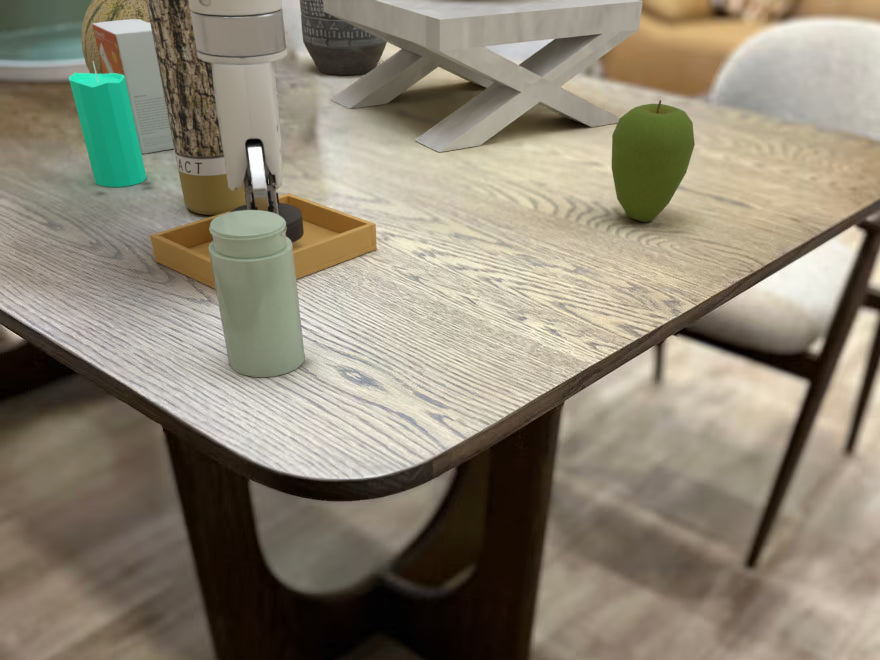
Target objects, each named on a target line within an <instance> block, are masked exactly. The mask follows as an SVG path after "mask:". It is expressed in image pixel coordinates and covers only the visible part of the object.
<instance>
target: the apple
mask: <svg viewBox="0 0 880 660" xmlns="http://www.w3.org/2000/svg"><path fill="white" fill-rule="evenodd" d="M619 118H620V119H619V121H618V123H616V126H615V128H614V130H613V132H612V135H611V143H612V144H611V172H612V178H613V183H614V189H615V195H616V200H617V201H618V203H619V204H620V206H621V208H622V209H623V211H624V212H625V215H626V216H627V217H628V218H630V219H633V220H636V221H639V222H643V223H648V222H652V221H654V220H655V219H656V218H657V217H658V216H659V215H660V214H661V212H662V211H664V209H666V207H667V206H668V205H669V204H670V202H671V200H672V199H673V197H674V196H675V193H676V192H677V190H678V188H679V186H680V184H681V183H682V181H683V180H684V178H685V176H686V174H687V171H688V169H689V165H690V162H691V158H692V155H693V152H694V149H695V145H696V143H695V133H694V123H693V122H694V121H692V119H691V118H690V117H689V115H688V114H687V113H686V111H685V110H683V109H681V108H678V107H675V106H672V105H668V104H664V103H662V100H661V99H659V102H658V103H647V104H642V105H638V106H635V107H633V108H632V109H630V110H629V111H627V112H626V113H625V114H623V115H622V116H621V117H619Z"/></svg>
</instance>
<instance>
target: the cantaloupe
mask: <svg viewBox="0 0 880 660" xmlns="http://www.w3.org/2000/svg"><path fill="white" fill-rule="evenodd" d="M87 7H88V8H87V9H86V11H85V13H84V17H83V21H82V25H81V40H80V41H81V42H80V43H81V51H82V55H83V58H84V62H85V65H86V67H87V70H88V73H94V74H95V70H94V66H93V62H92V61H94V64H95V69H96V73H97V74H103V70H102V65H101V61H100V56H99V52H98V48H97V43H96V39H95V35H94V31H93V27H92V24H93V23H100V22H108V21H117V20H129V19H140V20H143V21H145V22H148V23H150V19H149V13H148V8H147V3H146V0H91V1H90V3H89V4H88V6H87Z"/></svg>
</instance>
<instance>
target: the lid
mask: <svg viewBox="0 0 880 660" xmlns="http://www.w3.org/2000/svg"><path fill="white" fill-rule="evenodd" d="M277 205H278V213H279V215H280V216H281V217H282V218H284V220H285V222H286V227H287V230H286V237H288V238H289V239H290V240H291V242H292V243H293V242H295V241H297V240H299V239H300V238H301V237H302V236H303V234H304V230H303V221H302V212H301V211H300V209H298V208H297V207H295V206H292V205H289V204H284V203H277ZM242 210H248V209H247V205H246V204H245V205H244V206H240V207H238V208H235V209H233V210H232V211H230V212H234V211H242ZM272 213H273V211H272Z"/></svg>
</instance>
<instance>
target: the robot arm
mask: <svg viewBox="0 0 880 660" xmlns="http://www.w3.org/2000/svg"><path fill="white" fill-rule="evenodd" d="M188 2H189V8H190V13H191V19H192V25H193V31H194V37H195V43H196V49H197V56H198V58H199V59H201V60H202V61H205V62H210V63H212V75H213V85H214V94H215V101H216V108H217V115H218V122H219V128H220V134H221V141H222V147H223V154H224V160H225V167H226V174H227V181H228V187H229V189H230V190H232V191H233V192H236V188H242V186H243V182H244V187H245V188H244V191H245V198H246V204H245V205H247V209H248V210H261V211H268V212H272V211H273V213H276V214H278V215H279V213H278V205H277V203H279V198H278V196H279V192H277V190H279V189H280V188H281V187H282V186H283V156H282V155H283V154H282V152H283V151H282V133H281V121H280V110H279V109H280V108H279V100H278V90H277V81H276V79H277V78H276V71H275V63H274V62H276V61H280V60H283V59H284V58H286V57H288V49H287V41H286V32H285V22H284V13H283V11H284V10H283V2H282V0H188Z"/></svg>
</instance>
